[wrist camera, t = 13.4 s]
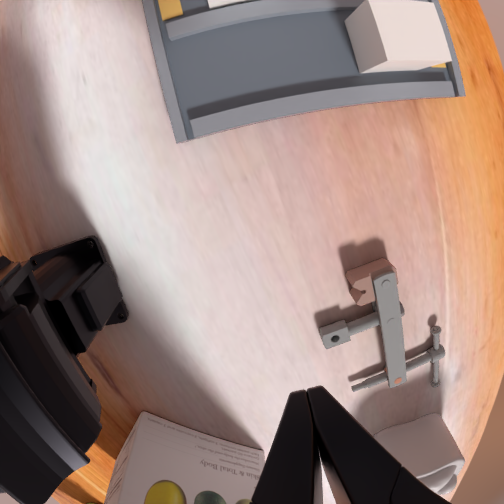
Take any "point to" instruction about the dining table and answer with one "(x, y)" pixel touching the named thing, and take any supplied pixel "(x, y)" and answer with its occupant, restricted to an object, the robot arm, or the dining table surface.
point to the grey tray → (272, 63)
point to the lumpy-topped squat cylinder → (425, 451)
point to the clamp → (382, 324)
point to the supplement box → (182, 467)
